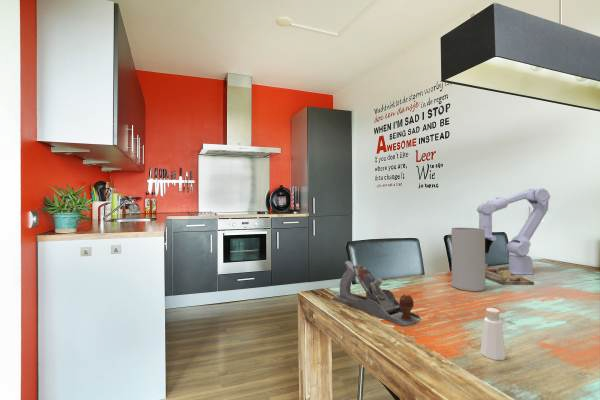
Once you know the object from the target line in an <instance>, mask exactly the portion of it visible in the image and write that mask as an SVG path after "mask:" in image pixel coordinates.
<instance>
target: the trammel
mask: <svg viewBox="0 0 600 400" xmlns="http://www.w3.org/2000/svg"><path fill="white" fill-rule="evenodd" d="M489 271H494V272H496V271H500V268H499V267H488V263H485V273H486V274H488V275H491V276H493V277H496V278H498V279H501V280H503V281H506V282H509V279H508V278H502V277H500V275H497V274H495V273H492V272H489Z"/></svg>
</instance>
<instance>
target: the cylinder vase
mask: <svg viewBox="0 0 600 400" xmlns="http://www.w3.org/2000/svg"><path fill="white" fill-rule="evenodd" d="M485 238H486V237H485V229H480V228H479V227H451V285H452V287H453V288H454V289H457V290H460V291H464V292H465V291H466V292H482V291H485V289H486V278H485V264H486V253H485Z"/></svg>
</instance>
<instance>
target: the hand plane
mask: <svg viewBox="0 0 600 400" xmlns="http://www.w3.org/2000/svg"><path fill="white" fill-rule="evenodd" d="M344 264H345V266H346V271H345V272H344V273H343V275H342V277H341V279H340V282H339V296H333V297H332V299H331V300H332V301H334V300H335V302H337V303H340V304H343V305H345V306H347V307H350V308H353V309H356V310H358V311H361V312H364V313H366V314H369V315H371V316H374V317H375V318H376V317H377V318H378V319H382V320H384V321H386V322H390V323H392V324H395V325H398V326H400V327H403V328H405V327H410V326H414V325H416V324H418V323H420V321H422V319H421V315H419V314H418V313H415V312H412V309H414V305H415V303H414V299H413V298H412V296H411V295H409V294H406V293H405V294H402V295H401V296H400V298H399V301H398V300H397V299H396V298H395V297H396V296H395V295H394V293H393V292H392V291H391V290H389V289H382V287H381V286H380V285H381V284H382V283H383V282H384V280H383V279H382V278H381V277H377V278H376V279H375V278H374V276H373V274H372V273H371V272H370V270H368V268H366V267H365V265H364V264H363V263H362V264H358V265H357V264H356V265H355V264H354V263H353V262H352V261H351V260H346V261H345V262H344ZM355 278H357V280H358V282H359V283H360V285H361V287H362V288H363V290H364V291H365V296H364V295H360V294H356V293H354V292H351V288H352V287H351V286H352V283H353V281H354V280H355Z"/></svg>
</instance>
